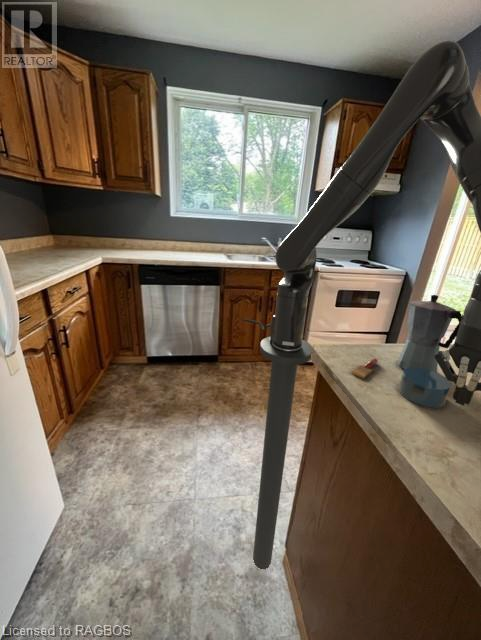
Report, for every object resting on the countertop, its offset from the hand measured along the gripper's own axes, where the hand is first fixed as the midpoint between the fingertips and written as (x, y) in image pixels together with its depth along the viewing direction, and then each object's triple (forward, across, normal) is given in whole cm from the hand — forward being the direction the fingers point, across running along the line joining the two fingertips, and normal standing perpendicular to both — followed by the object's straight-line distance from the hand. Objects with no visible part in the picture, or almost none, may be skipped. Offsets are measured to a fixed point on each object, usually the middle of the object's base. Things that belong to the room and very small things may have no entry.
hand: (460, 402), depth 56 cm
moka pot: (+2, +11, -13) cm, 17 cm away
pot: (+2, +7, 0) cm, 7 cm away
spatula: (+1, +20, -2) cm, 20 cm away
